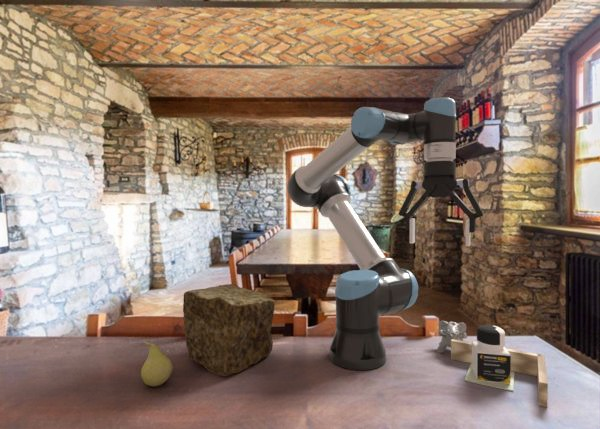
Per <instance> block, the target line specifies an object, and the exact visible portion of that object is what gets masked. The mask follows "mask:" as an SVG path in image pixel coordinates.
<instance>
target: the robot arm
mask: <svg viewBox="0 0 600 429" xmlns="http://www.w3.org/2000/svg"><path fill="white" fill-rule="evenodd" d="M423 105H424V108H423V110H422V111H419V112H416V113H415V112H414V113H408V114H406V113H402V112H397V111H396V112H395V111H391V110H386V109H381V108H378V107H373V106H372V107H371V106H370V107H369V106H362V107H359V108H358V109H356V110H355V111H354V113H353V116H352V117H351V118H350V126H349V127H348V128H347V129H346V130H345V131H344V132H343V133H342V134H340V135H339V136H338V137H337V138H336V139H334V140H333V141H332V142H331V143H330V144H329V145H328V146H327V147H325V148H324V149H323V150H322V151H321V152H320V153H318V154H317V155H316V157H314V158H313V159H312V160H311V161H310V162H308V163H307V164H306V165H301V166H299V167H298V168H297V169H296V170H295V171H294V172H292V174H291V175H290V177H289V179H288V181H287V184H286V185H287V186H286V190H287V191H286V192H287V194H288V196H289V198H290V200H291V201H292V202H293V203H294V204H295V205H297V206H299V207H304V208H317V210H318V212H319V213H320V215H321V216H322V217H324V218H328V219H329V221H330V222H331V225H332V226H333V228H334V229H335V230H336V232H337V234H338V235H339V237H340V239H341V241H343V243H344V245H345V247H346V249H348V252H349V253H350V254H351V257H352V258H353V260H354V261H355V263H356V265H357V266H358V268H359V269H358V270H355V269H353V270H349V271H346V272H343V273H342V274H340V275H339V276H338V277H337V279H336V282H335V291H334V292H335V332H334V335H333V338H332V341H331V345H330V347H329V359H330V361H331V362H332V363H333V364H335V365H337V366H338V367H341V368H343V369H348V370H355V371H368V370H374V369H377V368H381V367H382V366H383V365H384V364H385V363H386V362H387V359H386V358H387V352H386V351H387V350H386V348H385V346H384V343H383V339H382V336H381V333H380V317H381V316H385V315H389V314H393V313H396V312H401V311H404V310H405V309H409V308H410V307H412V306H413V305H414V304H415V303H416V301H417V298H418V296H419V294H418V293H419V292H418V291H419V284H418V281H417V278H416V277H415V275H414V274H413V273H412V271H410V270H408V269H405V268H400V266H399V265H398V264H397V262H396V261H395V260H394V259H393V258H390V257H386V255H385V254H384V252H383V251H382V250H381V248H380V247H379V245H378V244H377V242H376V241H375V239H374V238H373V236H372V235H371V233H370V231H369V230H368V229H367V228H366V226H365V224H364V223H363V221H362V220H361V219H360V217H359V215H358V213H356V210H354V208H353V206H352V205H351V200H352V199H351V195H352V194H351V193H352V192H351V191H350V190H351V186H350V184H349V182H348V180H347V179H346V178H345V177H343V176H342V175H338V174H337V173H338V172H339V171H341V170H342V169H343V168H344V167H346V166H347V165H349V164H350V163H351V162H352V161H354V160H355V159H356V158H357V157H359V156H360V155H361V154H363V153H364V152H365V151H366V150H367V149H369V148H370V147H371V146H373V145H374V144H376V143H377V142H378V141H387V142H388V143H389V144H390V145H393V146H395V145H405V144H410V143H415V142H416V143H417V142H421V141H423V142H424V143H423V144H424V145H423V156H424V157H423V159H424V161H425V162H424V164H423V181H417V180H412V181H411V182H410V189H409V192H408V194H407V196H406V198H405V200H404V202H403V204H402V206H401V207H400V209H399V211H398V215H399V216H400V217H403V218H405V230H406V231H409V244H411V245H412V244H414V243H416V218H413V217H414V216H415V215H416V213H417V212H418V211H419V210H420V208H422V206H423V205H424V204H425V203H426V202H427V200H429V199H430V198H433V199H438V198H442V199H443V198H444V199H445V198H448V197H449V198H450V199H451V200H452V201H453V202H454V203H455V204H456V205H457V206H458V208H460V210H461V211H462V212H463V213H464V214H465V215H466V216H467V217H468V218H469V219H465V247H470V246H471V233H475V232H476V219H478V218H481V217H484V213H485V212H484V211H483V210H482V208H481V206H480V204H479V202H478V200H477V199H476V197H475V195H474V193H473V191H472V189H471V185H470V184H471V183H470V180H469V179H467V178H464V179H462V180H461V179H460V180H457V179H456V173H457V172H456V165H457V164H456V161H454V160H455V159H456V158H457V157H456V155H457V151H456V149H457V148H456V147H457V142H456V128H457V125H456V124H457V123H456V122H457V111H456V108H457V107H456V101H455V100H454V99H453V98H452V97H451V98H450V97H434V98H431V99H430V98H429V99H428V100H427V101H425V102H424V104H423ZM458 186H459V187H460V189H463V191H464V193H465V196H466V197H467V199H468V200H469V203H470V204H471V207H472V208H473V210H474V212H475V213H474V212H473V211H472V210H471V209H470V208H469V206H468V205H467V204H466V203H465V202H464V201H463V200H462V199H461V198H460V197H459V196H458V194H457V193H456V192H455V189H457V187H458ZM421 187H422V188H423V190H425V191H424V192H423V194H422V195H421V196H420V198H418V200H417V201H416V202H415V203H414V204H413V206H412V207H411V208H410V206H411V204H412V202H413V200H414V198H415V196H416V194H417V192H418V190H420V189H421ZM409 208H410V209H409Z"/></svg>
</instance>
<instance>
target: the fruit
mask: <svg viewBox="0 0 600 429" xmlns="http://www.w3.org/2000/svg"><path fill="white" fill-rule="evenodd" d="M142 344H144V345H148V349H149V350H148V355H147V358H146V360H145V361H144V364H143V365H142V367H141V370H140V377H141V379H142V381H143V382H144V383H145V384H146V385H147V386H149V387H154V388H155V387H157V386H158V387H159V386H161V385H163V384H164V383H166V382H167V380H168V379H169V378H170V377H171V375H172V372H173V364H172V361H171V360H170V359H169V358H168V356H166V354H165V353H164V352H163V351H162V350H161V348H159V346H158V345H156V344H155V343H153V342H151V343H150V342H147V341H146V340H142Z"/></svg>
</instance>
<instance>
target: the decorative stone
mask: <svg viewBox="0 0 600 429" xmlns="http://www.w3.org/2000/svg"><path fill="white" fill-rule="evenodd" d="M182 300H183V304H182V305H183V306H182V311H183V312H182V313H183V328H184V336H185V346H186V350H187V351H188V352H187V354H188V355H187V357H188V359H189V360H193V361H195V362H196V363H197V364H198V365H202V366H203V367H204V368H205V369H206V370H208V372H209V373H213V374H216V375H219V376H223V377H228V376H229V375H231V374H234V373H239V372H241V371H243V370H245V369H247V368H248V367H249V366H250V365H254V364H257V363H258V362H259V361H260V360H261V359H263V358H265V357H269V356H270V355H271V352H272V350H273V345H274V342H273V341H274V340H273V335H272V333H271V330H272V324H273V319H274V316H275V300H274V299H273V297H272V298H271V297H270V296H269V295H267V294H266V293H262V292H258V291H255V290H252V289H248V288H245V287H241V286H239V285H237V284H234V283H231V284H221V285H216V286H211V287H206V288H199V289H192V290H187V291H184V293H183V299H182Z"/></svg>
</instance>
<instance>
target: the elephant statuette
mask: <svg viewBox="0 0 600 429" xmlns="http://www.w3.org/2000/svg"><path fill="white" fill-rule="evenodd" d="M438 328H439V331H438V335H439V336H441V340H440V342H439V343H438V347H437V351H438V353H439V354H443V353H444V350H445V349H446V348H447V347H448V348H450V349H451V340H452V339H454V340H460V341H464V339H467V338H468V335H467V333H466V331H467V325H466V323H464V322H455V321H449V322H448V321H445V320H440V321H439V322H438Z"/></svg>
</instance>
